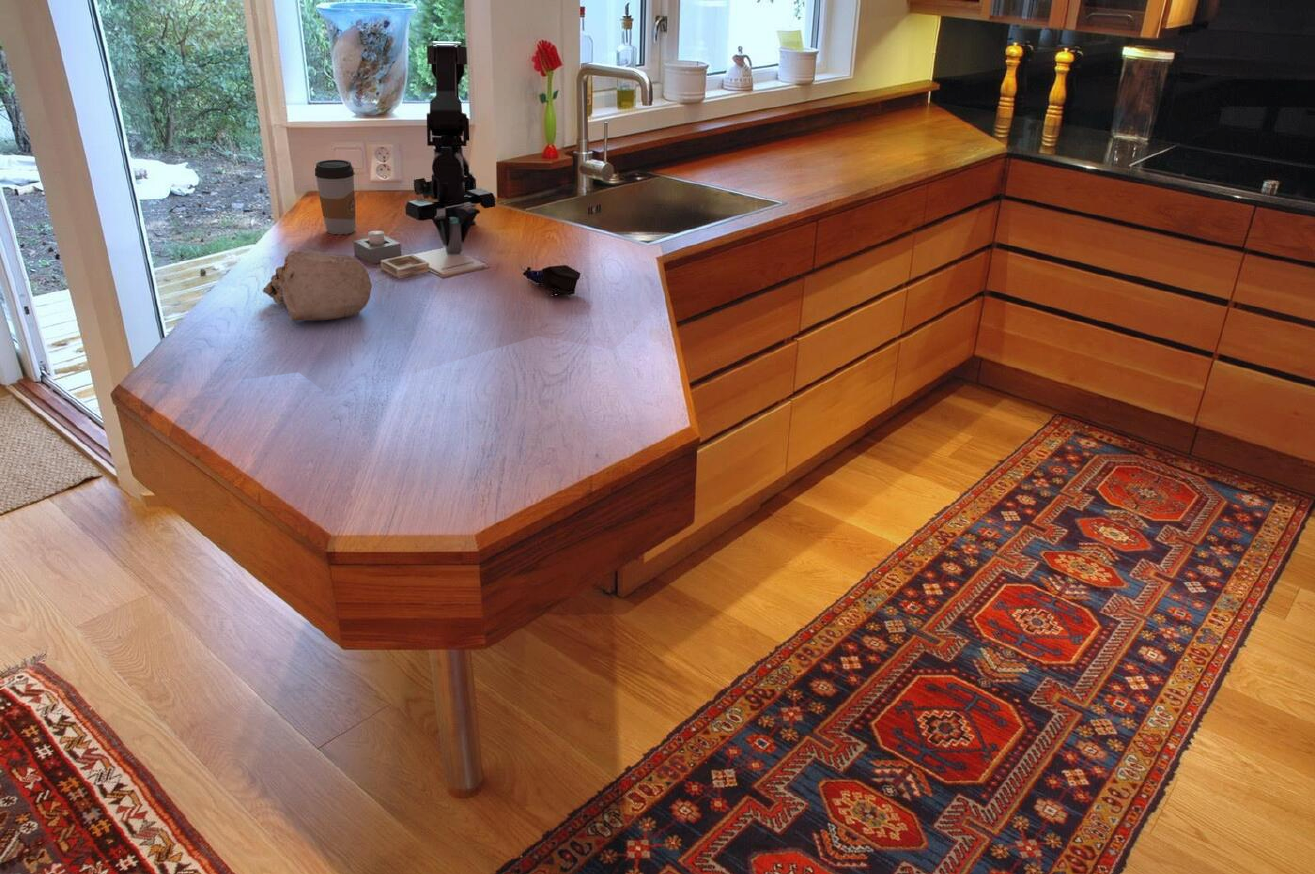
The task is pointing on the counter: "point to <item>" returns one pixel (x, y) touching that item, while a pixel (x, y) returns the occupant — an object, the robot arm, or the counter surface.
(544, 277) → the toy
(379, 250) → the button housing
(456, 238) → the marker
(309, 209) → the counter surface
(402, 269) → the holder tray
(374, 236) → the button
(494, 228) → the counter surface
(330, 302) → the decorative skull
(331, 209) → the coffee cup
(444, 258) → the white flat rectangular panel
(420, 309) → the counter surface
